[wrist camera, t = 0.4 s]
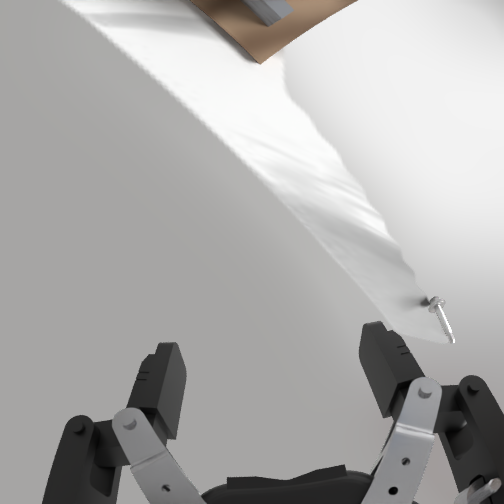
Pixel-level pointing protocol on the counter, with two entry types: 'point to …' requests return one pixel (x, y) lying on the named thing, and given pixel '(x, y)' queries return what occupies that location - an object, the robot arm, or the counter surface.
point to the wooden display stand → (268, 21)
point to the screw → (441, 316)
